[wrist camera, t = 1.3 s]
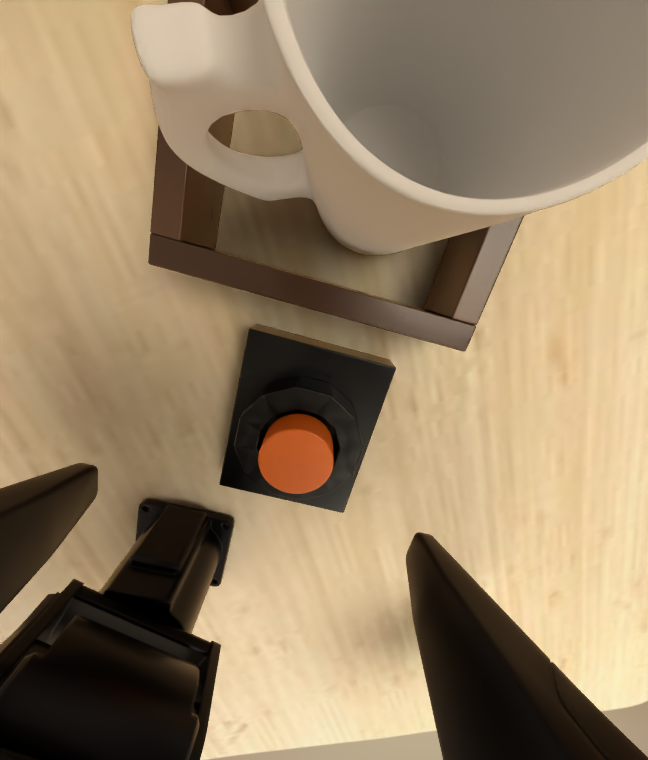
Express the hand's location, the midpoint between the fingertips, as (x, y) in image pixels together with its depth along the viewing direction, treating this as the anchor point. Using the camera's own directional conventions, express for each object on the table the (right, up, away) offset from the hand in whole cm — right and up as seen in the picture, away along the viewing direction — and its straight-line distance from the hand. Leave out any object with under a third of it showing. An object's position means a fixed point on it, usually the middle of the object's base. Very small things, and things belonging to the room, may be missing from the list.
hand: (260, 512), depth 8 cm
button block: (0, +1, +10) cm, 10 cm away
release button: (0, 0, +7) cm, 7 cm away
